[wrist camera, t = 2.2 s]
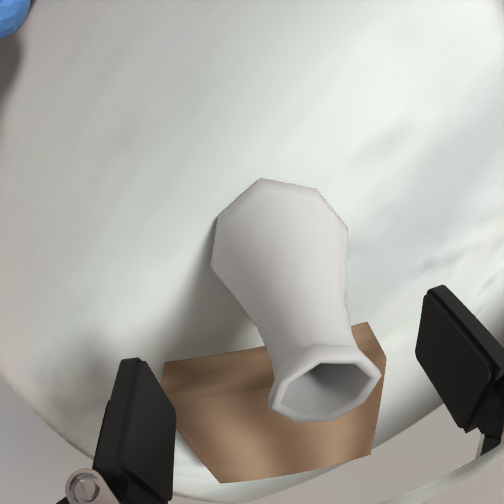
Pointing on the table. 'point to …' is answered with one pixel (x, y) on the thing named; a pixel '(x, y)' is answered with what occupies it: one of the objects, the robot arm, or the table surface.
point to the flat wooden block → (263, 416)
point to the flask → (295, 297)
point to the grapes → (12, 15)
